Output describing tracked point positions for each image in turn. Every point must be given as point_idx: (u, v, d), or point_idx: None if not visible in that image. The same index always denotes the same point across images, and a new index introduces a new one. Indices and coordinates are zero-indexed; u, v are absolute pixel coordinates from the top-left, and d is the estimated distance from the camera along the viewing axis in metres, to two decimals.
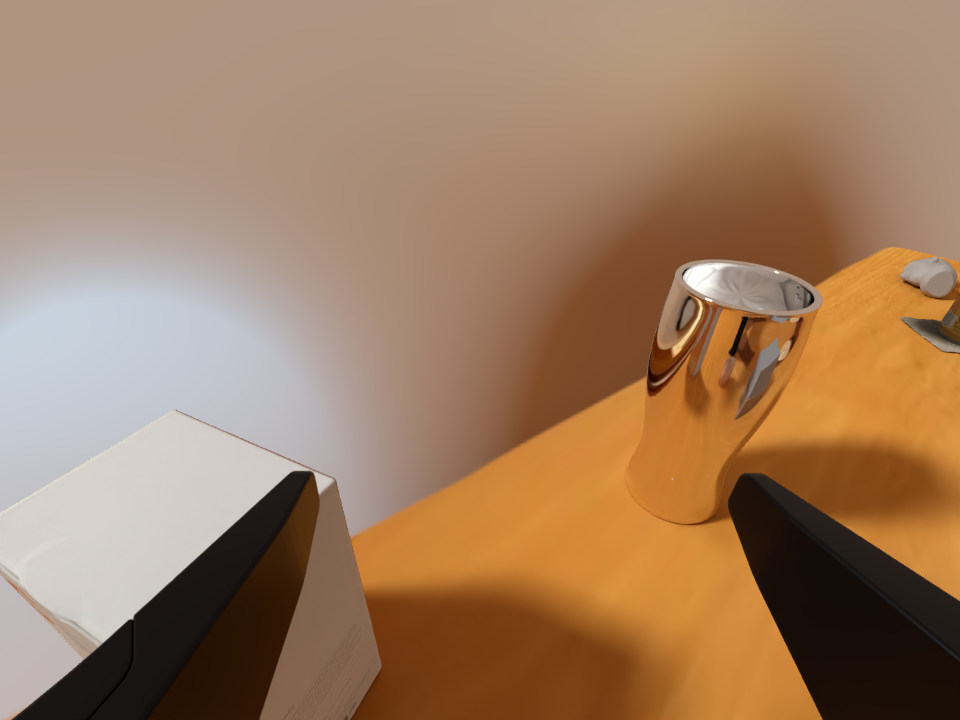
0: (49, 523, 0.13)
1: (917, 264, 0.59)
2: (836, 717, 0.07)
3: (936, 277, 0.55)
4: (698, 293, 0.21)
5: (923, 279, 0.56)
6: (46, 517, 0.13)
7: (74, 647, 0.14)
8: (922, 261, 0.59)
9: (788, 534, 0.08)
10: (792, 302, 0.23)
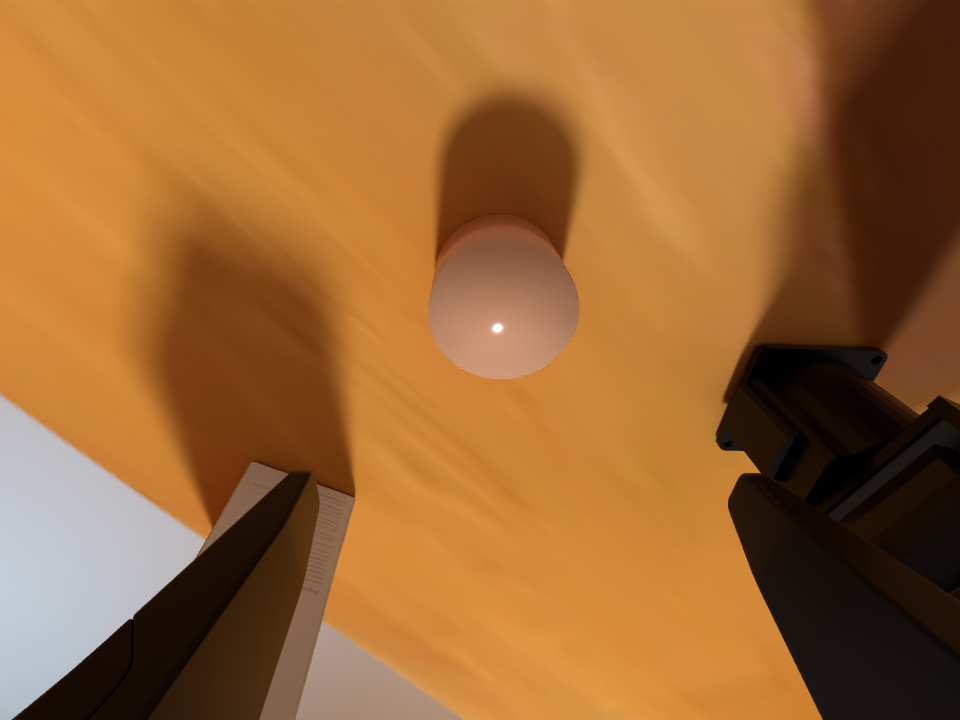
0: None
1: None
2: (837, 717, 0.07)
3: None
4: None
5: None
6: None
7: None
8: None
9: (788, 534, 0.08)
10: None
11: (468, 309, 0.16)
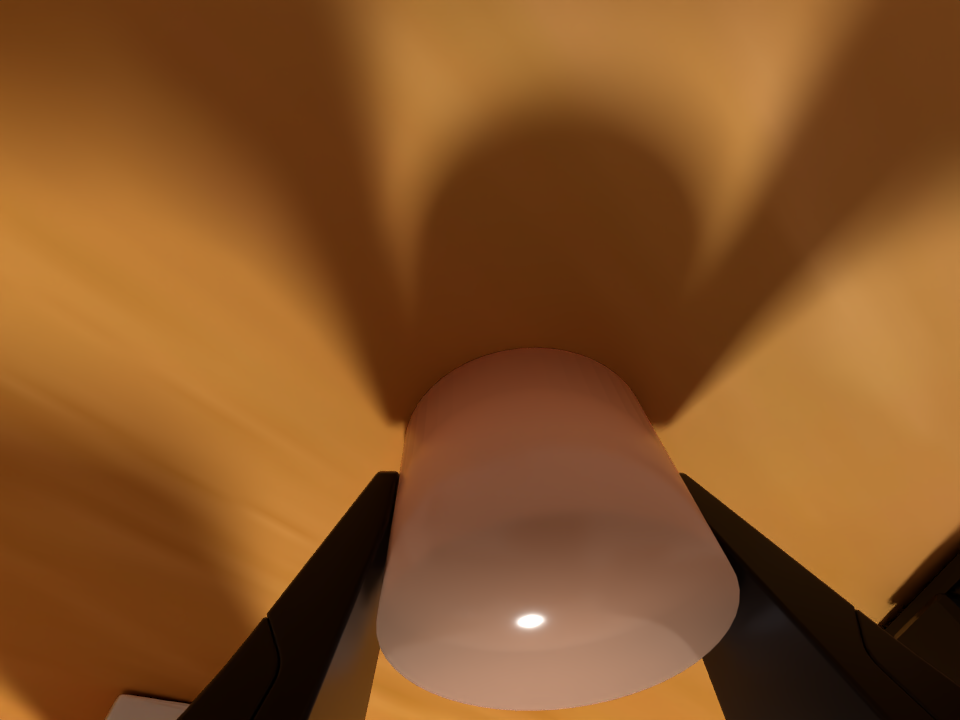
0: None
1: None
2: (740, 719, 0.07)
3: None
4: None
5: None
6: None
7: None
8: None
9: None
10: None
11: (474, 624, 0.07)
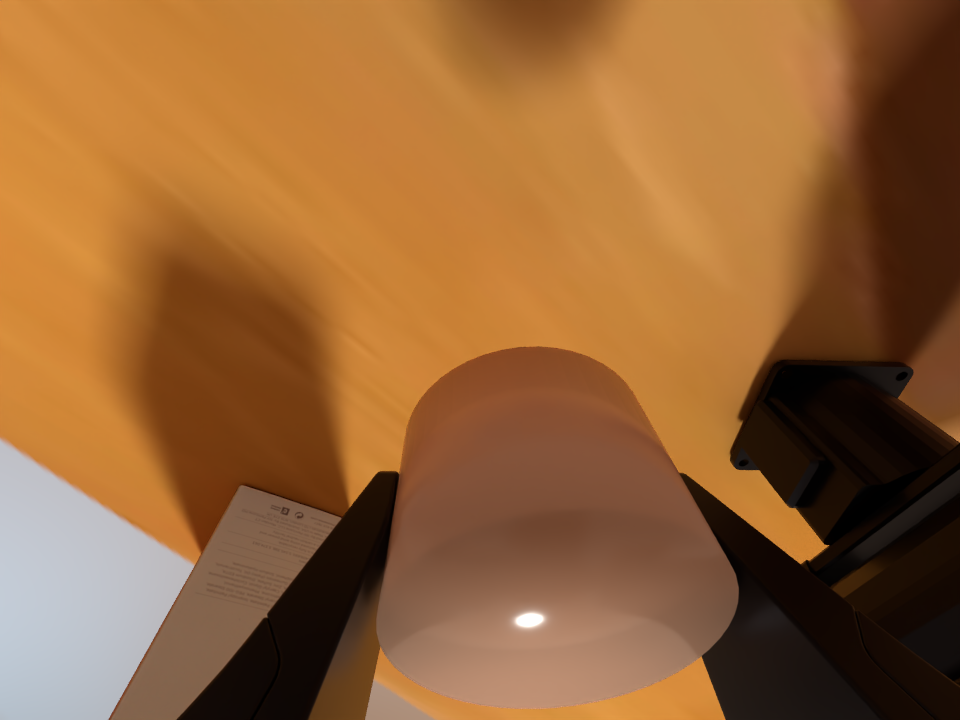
0: None
1: None
2: None
3: None
4: None
5: None
6: None
7: None
8: None
9: None
10: None
11: (473, 622, 0.07)
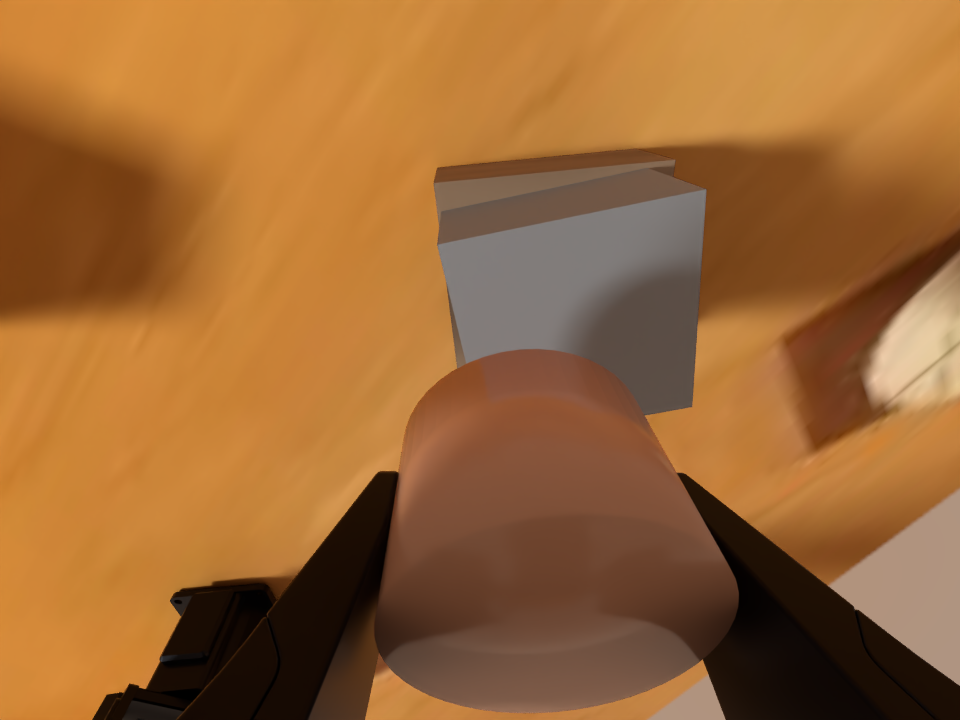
0: None
1: None
2: None
3: None
4: None
5: None
6: None
7: None
8: None
9: None
10: None
11: (471, 627, 0.07)
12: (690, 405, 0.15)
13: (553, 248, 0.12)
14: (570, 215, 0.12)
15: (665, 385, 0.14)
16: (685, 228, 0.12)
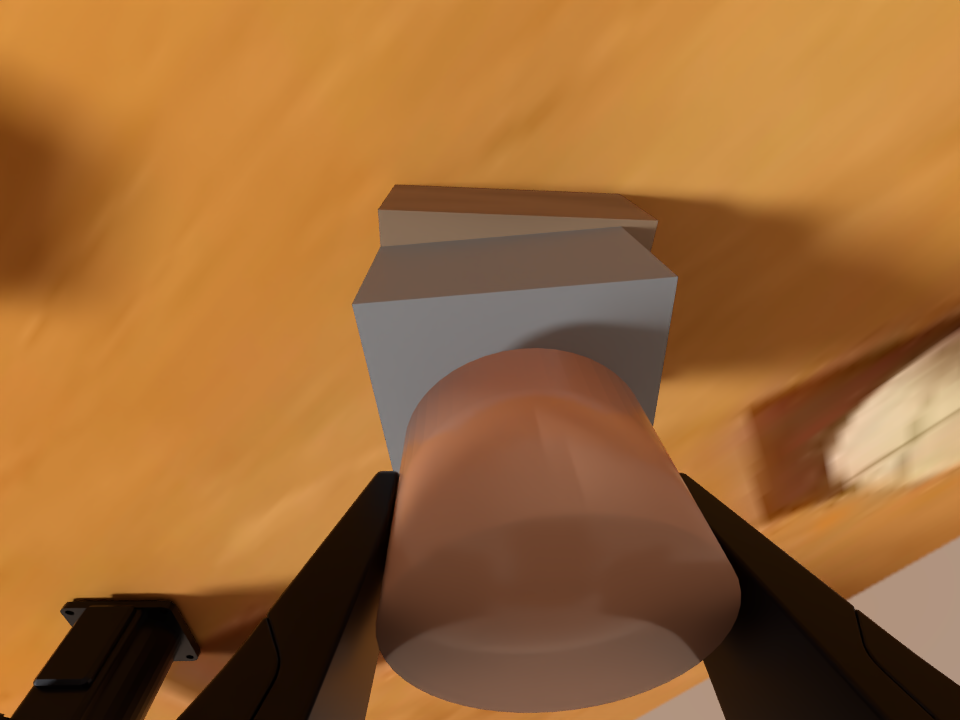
0: None
1: None
2: (740, 719, 0.07)
3: None
4: None
5: None
6: None
7: None
8: None
9: None
10: None
11: (473, 626, 0.07)
12: None
13: (493, 322, 0.10)
14: (516, 287, 0.10)
15: None
16: (649, 316, 0.10)
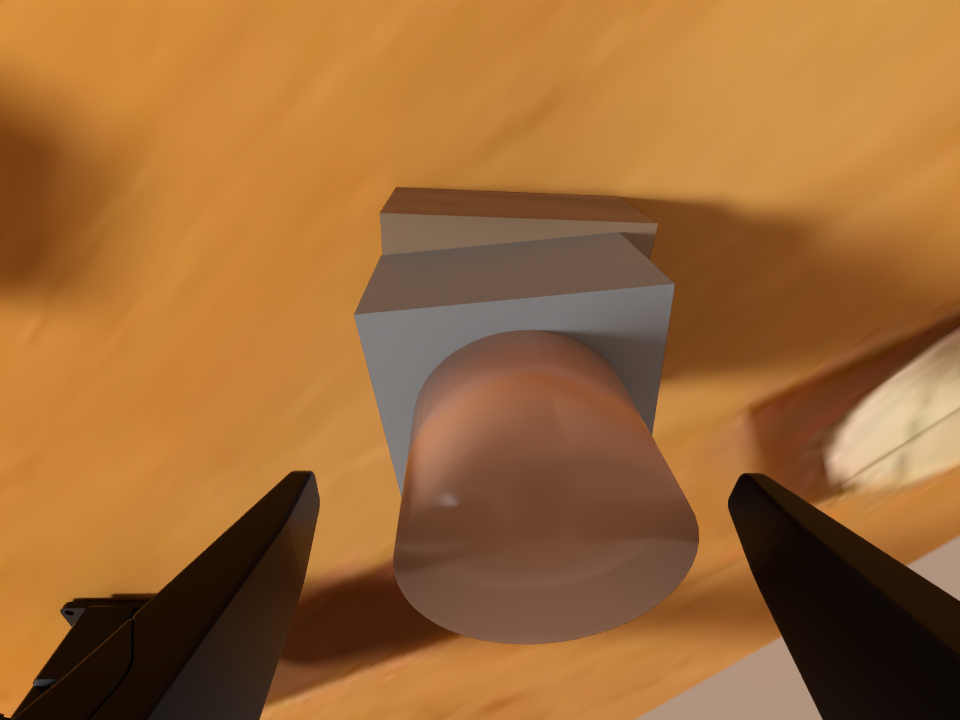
0: None
1: None
2: (837, 717, 0.07)
3: None
4: None
5: None
6: None
7: None
8: None
9: (788, 534, 0.08)
10: None
11: (475, 558, 0.08)
12: None
13: (492, 330, 0.10)
14: (515, 296, 0.10)
15: None
16: (647, 322, 0.10)
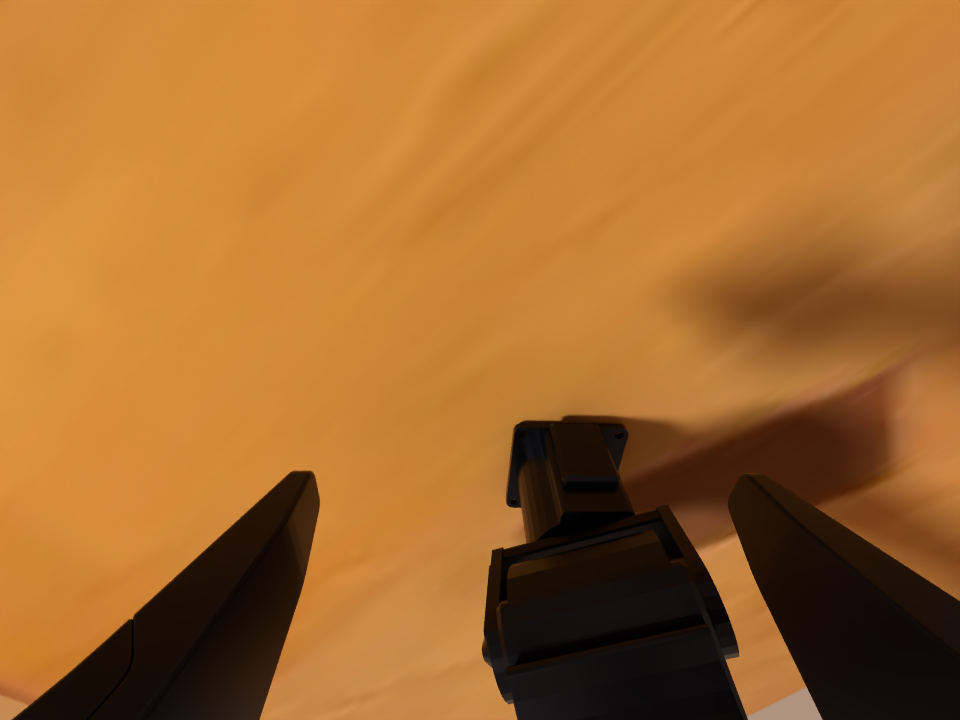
0: None
1: None
2: (837, 717, 0.07)
3: None
4: None
5: None
6: None
7: None
8: None
9: (788, 534, 0.08)
10: None
11: None
12: None
13: None
14: None
15: None
16: None
